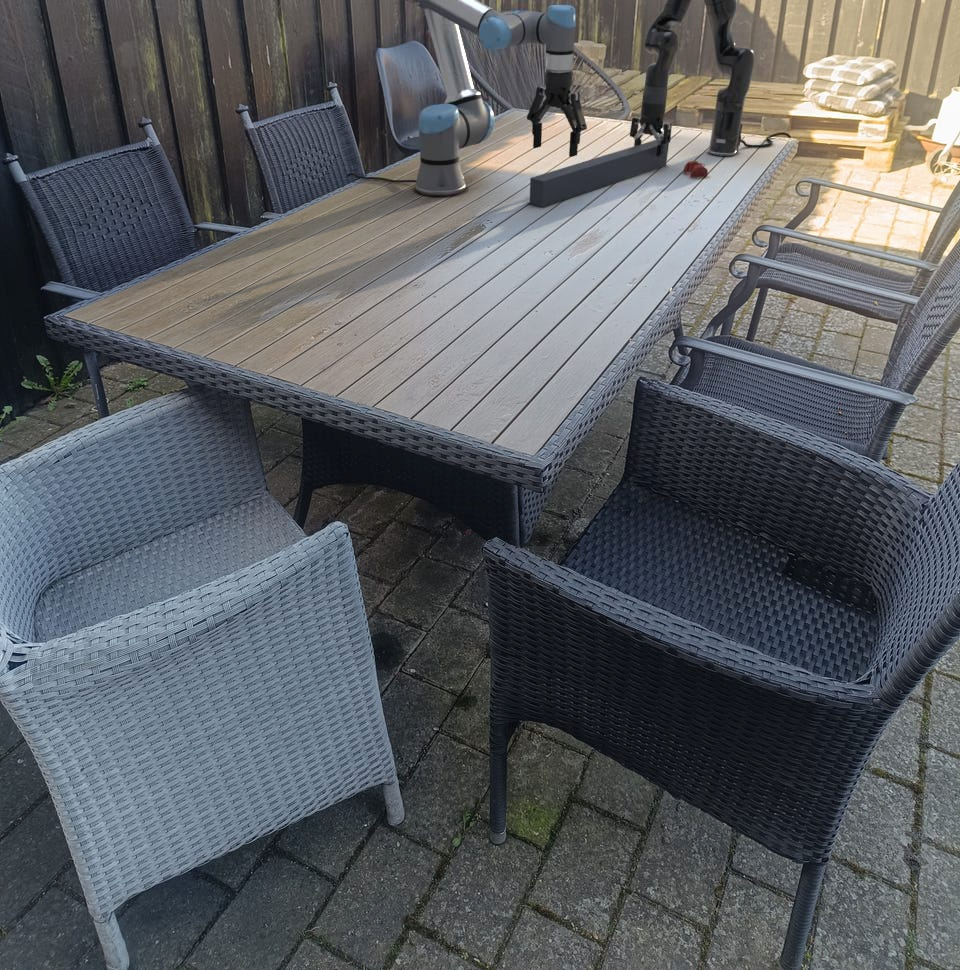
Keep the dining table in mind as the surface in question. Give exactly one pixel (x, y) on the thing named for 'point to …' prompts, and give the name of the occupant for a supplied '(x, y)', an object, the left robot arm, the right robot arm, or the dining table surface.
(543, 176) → the beam
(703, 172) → the red lumpy piece
